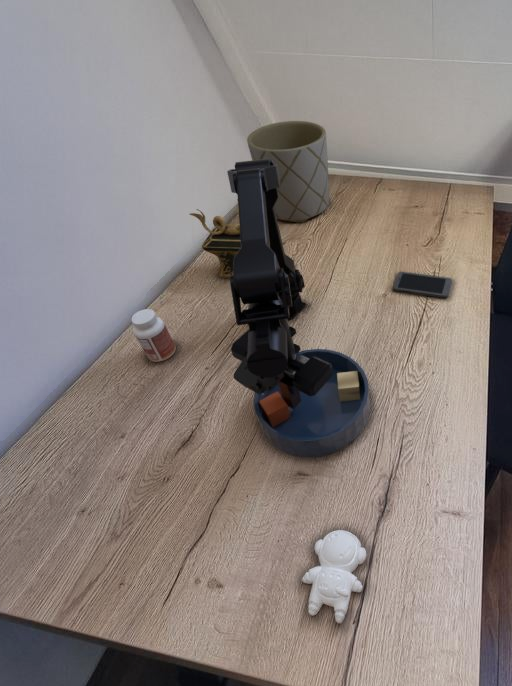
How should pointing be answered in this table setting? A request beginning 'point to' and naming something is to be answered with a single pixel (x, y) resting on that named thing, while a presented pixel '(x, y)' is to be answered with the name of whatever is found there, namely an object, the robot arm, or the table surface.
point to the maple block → (348, 386)
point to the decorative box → (222, 242)
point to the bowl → (320, 413)
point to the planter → (295, 166)
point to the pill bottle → (153, 335)
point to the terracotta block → (274, 409)
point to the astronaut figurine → (335, 572)
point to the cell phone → (422, 284)
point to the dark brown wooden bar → (288, 394)
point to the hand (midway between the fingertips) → (289, 390)
